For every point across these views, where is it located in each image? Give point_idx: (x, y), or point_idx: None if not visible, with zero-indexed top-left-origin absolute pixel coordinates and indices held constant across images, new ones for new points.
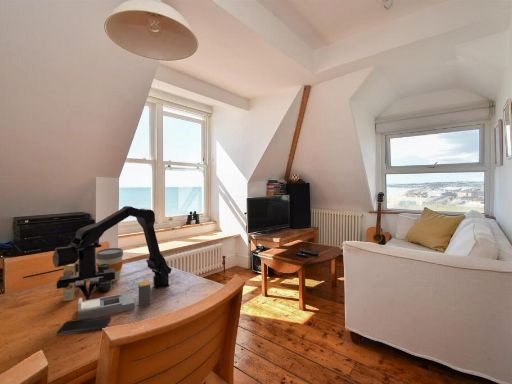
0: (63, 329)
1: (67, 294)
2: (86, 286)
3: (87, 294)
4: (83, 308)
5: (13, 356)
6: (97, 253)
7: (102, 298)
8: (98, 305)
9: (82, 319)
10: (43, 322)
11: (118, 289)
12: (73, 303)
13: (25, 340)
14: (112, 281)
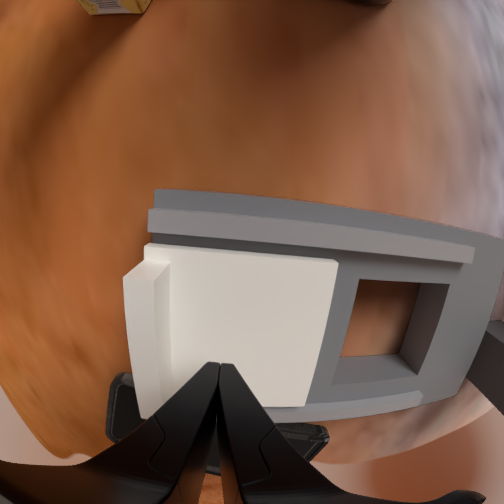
0: (124, 430)
1: None
2: (181, 490)
3: (210, 439)
4: None
5: (49, 444)
6: None
7: (358, 248)
8: (298, 397)
9: None
10: (17, 280)
11: (434, 31)
12: (135, 64)
13: (28, 392)
14: None
